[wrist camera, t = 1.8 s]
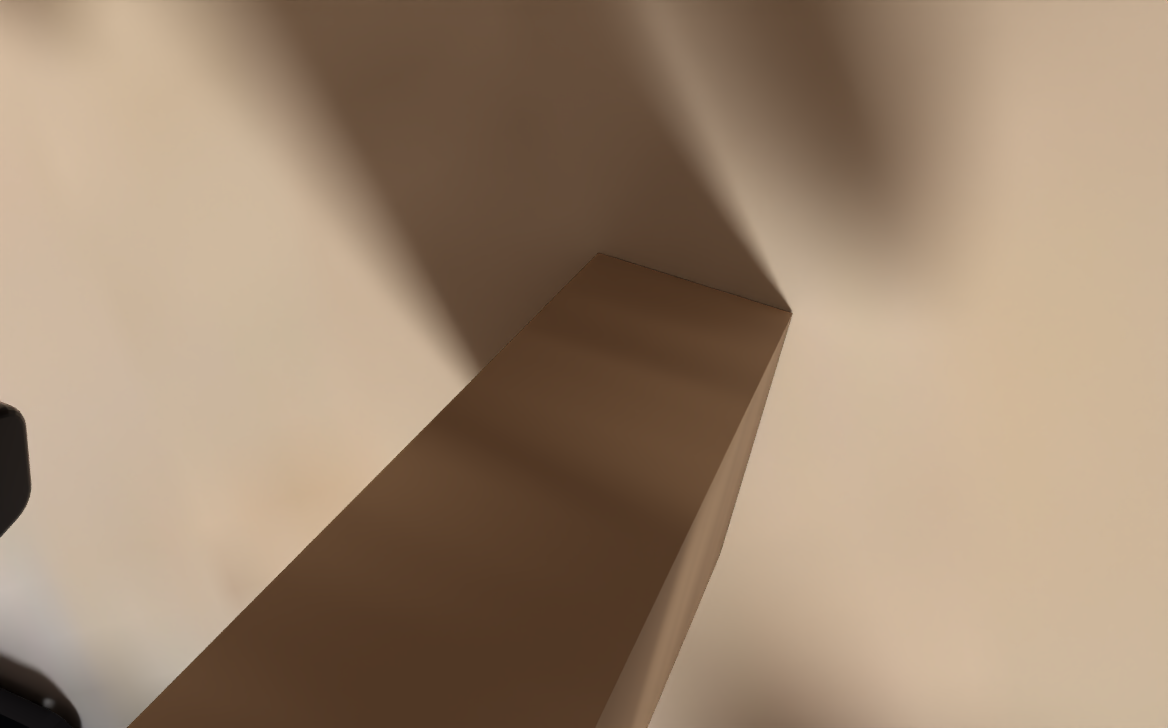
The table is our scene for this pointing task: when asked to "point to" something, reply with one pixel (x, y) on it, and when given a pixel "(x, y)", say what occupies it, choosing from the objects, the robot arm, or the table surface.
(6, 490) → the robot arm
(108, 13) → the table surface
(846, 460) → the table surface
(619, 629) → the tan wooden plank
